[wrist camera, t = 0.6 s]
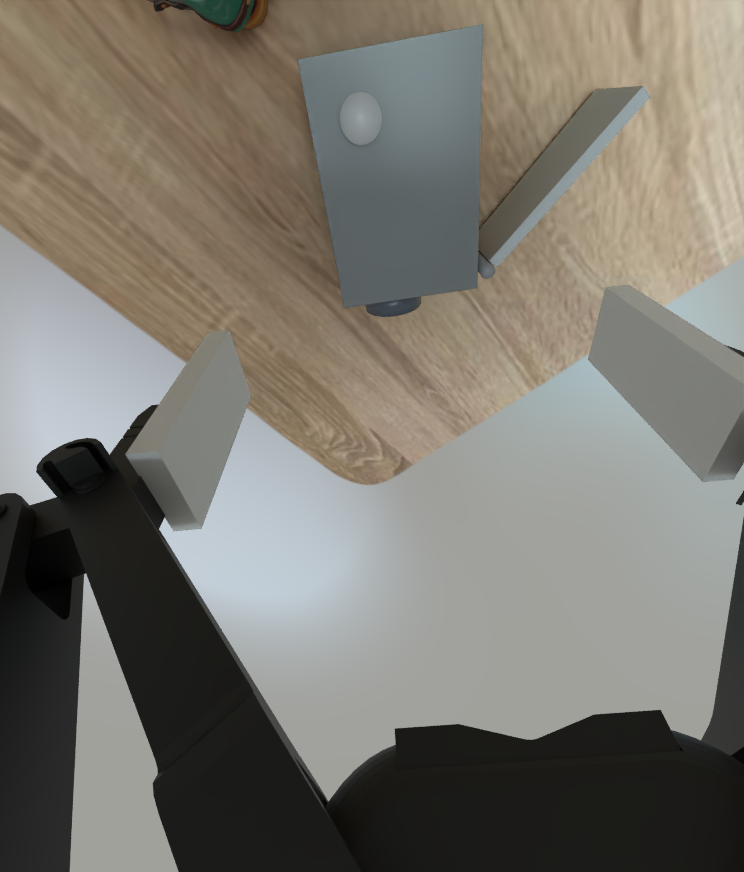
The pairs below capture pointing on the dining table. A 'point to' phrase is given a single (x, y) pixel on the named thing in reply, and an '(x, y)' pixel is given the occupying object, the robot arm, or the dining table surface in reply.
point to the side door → (556, 171)
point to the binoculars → (222, 11)
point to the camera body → (400, 165)
